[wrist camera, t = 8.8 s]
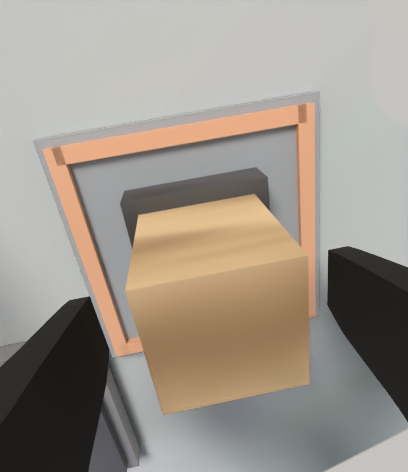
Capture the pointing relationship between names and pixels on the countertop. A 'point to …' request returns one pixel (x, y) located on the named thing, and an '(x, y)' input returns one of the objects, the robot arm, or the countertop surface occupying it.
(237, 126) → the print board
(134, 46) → the countertop surface
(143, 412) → the countertop surface
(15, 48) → the countertop surface
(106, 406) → the pad
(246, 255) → the stamp
